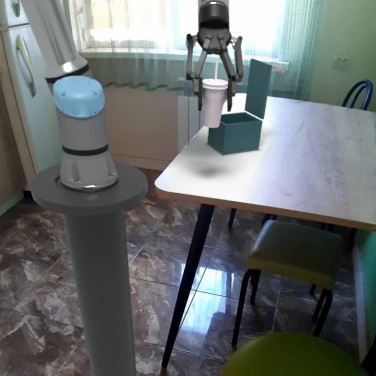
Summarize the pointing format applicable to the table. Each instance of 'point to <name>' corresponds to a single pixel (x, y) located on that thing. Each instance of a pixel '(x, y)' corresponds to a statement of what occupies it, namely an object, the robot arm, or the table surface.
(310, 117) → the table surface
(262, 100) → the lid
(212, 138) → the teal open box
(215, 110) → the smoothie
